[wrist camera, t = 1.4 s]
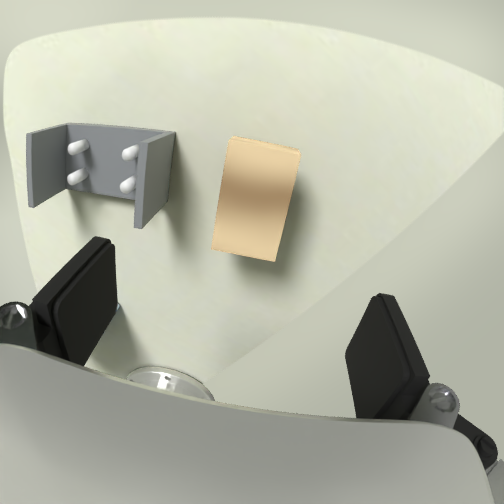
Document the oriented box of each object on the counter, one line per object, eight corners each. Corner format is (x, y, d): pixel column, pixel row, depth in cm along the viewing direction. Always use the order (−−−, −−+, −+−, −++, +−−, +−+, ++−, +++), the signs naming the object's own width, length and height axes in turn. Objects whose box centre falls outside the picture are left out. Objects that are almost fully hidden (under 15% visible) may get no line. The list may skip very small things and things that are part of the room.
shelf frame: (167, 201, 26) (141, 229, 21) (66, 184, 26) (28, 206, 21) (175, 132, 24) (148, 142, 18) (68, 122, 23) (26, 133, 18)
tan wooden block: (274, 246, 24) (274, 261, 22) (216, 234, 24) (211, 249, 22) (298, 149, 21) (301, 155, 19) (233, 136, 21) (228, 140, 19)
